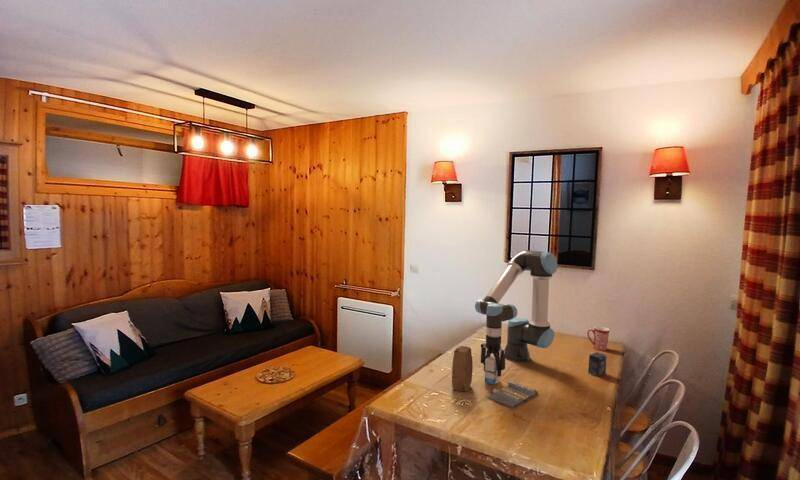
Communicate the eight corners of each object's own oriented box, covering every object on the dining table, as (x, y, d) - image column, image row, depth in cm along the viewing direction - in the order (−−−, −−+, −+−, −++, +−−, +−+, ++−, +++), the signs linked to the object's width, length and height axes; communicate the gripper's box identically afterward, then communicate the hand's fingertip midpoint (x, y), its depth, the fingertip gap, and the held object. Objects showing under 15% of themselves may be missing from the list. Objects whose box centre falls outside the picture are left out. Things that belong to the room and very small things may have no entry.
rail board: (488, 397, 180) (488, 391, 179) (513, 384, 194) (514, 378, 194) (513, 408, 170) (513, 402, 170) (538, 393, 185) (538, 387, 185)
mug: (607, 347, 253) (609, 327, 252) (608, 352, 245) (610, 331, 244) (586, 344, 259) (587, 324, 258) (586, 348, 250) (587, 328, 249)
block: (464, 394, 183) (465, 352, 182) (449, 389, 187) (451, 348, 186) (473, 385, 192) (475, 346, 190) (460, 381, 196) (461, 343, 195)
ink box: (493, 385, 191) (494, 362, 190) (483, 382, 194) (484, 359, 193) (499, 379, 198) (501, 356, 197) (490, 376, 201) (491, 354, 200)
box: (597, 377, 206) (599, 357, 206) (587, 373, 211) (588, 354, 210) (605, 373, 211) (607, 354, 210) (595, 370, 216) (597, 351, 215)
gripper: (473, 332, 199) (472, 376, 200) (505, 341, 185) (504, 388, 187) (482, 329, 204) (481, 372, 206) (514, 338, 190) (512, 383, 192)
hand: (492, 379), depth 196 cm, fingers closed on ink box, 6 cm apart
